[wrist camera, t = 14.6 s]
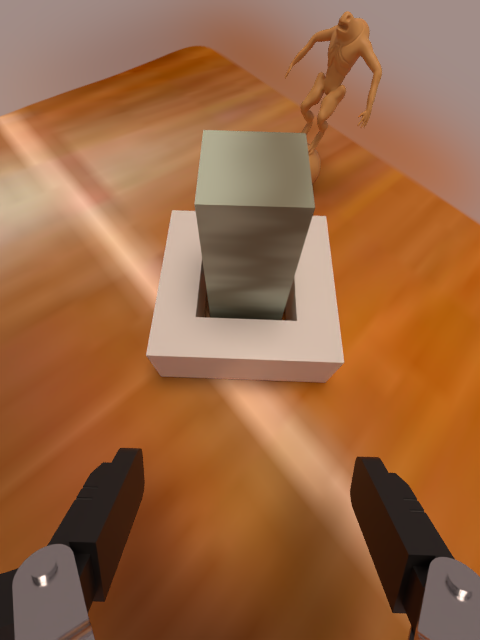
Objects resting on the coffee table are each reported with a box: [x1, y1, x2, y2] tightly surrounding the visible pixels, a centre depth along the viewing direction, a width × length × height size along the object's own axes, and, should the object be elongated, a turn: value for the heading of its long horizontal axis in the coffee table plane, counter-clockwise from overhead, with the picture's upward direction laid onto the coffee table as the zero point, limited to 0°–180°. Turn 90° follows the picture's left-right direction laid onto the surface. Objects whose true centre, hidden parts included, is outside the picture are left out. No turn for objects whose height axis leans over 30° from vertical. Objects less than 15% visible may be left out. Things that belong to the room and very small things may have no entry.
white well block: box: [146, 210, 344, 383], centre depth 22 cm, size 11×11×4 cm
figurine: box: [285, 12, 382, 184], centre depth 24 cm, size 8×6×12 cm
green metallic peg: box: [195, 130, 315, 320], centre depth 18 cm, size 4×4×12 cm
